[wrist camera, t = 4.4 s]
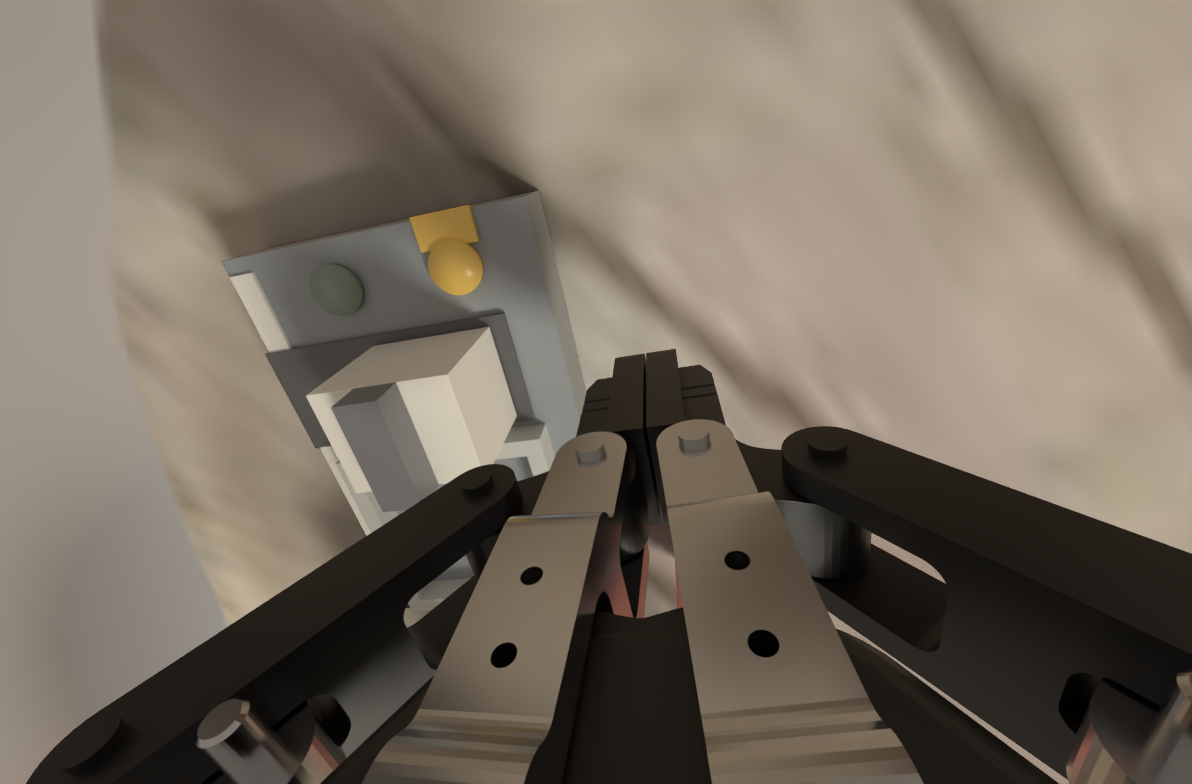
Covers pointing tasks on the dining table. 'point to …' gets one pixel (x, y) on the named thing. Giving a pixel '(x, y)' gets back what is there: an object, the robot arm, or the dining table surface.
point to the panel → (424, 323)
